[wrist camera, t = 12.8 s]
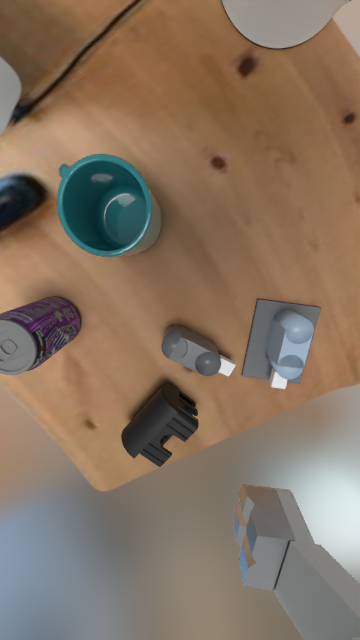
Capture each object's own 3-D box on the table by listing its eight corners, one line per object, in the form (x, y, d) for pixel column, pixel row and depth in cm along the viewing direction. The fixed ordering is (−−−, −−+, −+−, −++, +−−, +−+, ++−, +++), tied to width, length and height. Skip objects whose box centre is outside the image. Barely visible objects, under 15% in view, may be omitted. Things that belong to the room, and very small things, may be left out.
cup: (102, 151, 34) (63, 104, 23) (175, 215, 36) (171, 200, 25) (64, 210, 36) (11, 193, 25) (135, 268, 37) (114, 275, 27)
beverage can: (57, 350, 41) (7, 390, 29) (24, 314, 39) (-42, 341, 28) (92, 324, 40) (53, 355, 28) (59, 286, 38) (5, 302, 27)
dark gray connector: (160, 340, 40) (157, 352, 35) (170, 320, 39) (168, 330, 34) (223, 371, 41) (228, 387, 36) (234, 352, 40) (241, 366, 36)
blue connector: (275, 307, 38) (289, 315, 33) (300, 310, 38) (316, 319, 33) (260, 376, 41) (270, 393, 36) (282, 379, 41) (295, 396, 36)
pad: (257, 298, 38) (258, 299, 38) (318, 306, 38) (320, 307, 38) (241, 374, 41) (242, 376, 41) (298, 381, 41) (300, 383, 41)
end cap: (164, 375, 42) (160, 398, 35) (198, 401, 43) (201, 428, 36) (126, 417, 44) (116, 447, 37) (160, 441, 45) (156, 474, 38)
